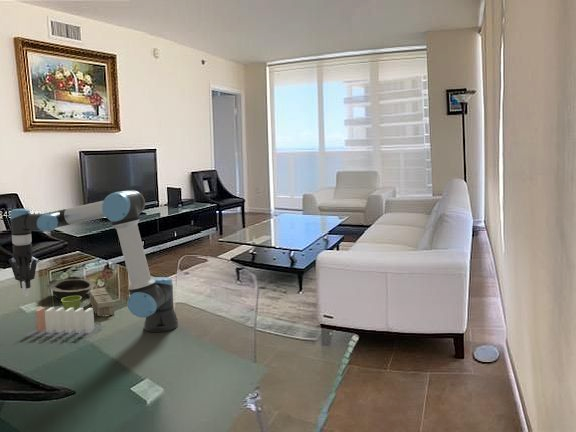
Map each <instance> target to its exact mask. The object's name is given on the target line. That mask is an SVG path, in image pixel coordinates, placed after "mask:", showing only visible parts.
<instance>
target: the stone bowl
mask: <svg viewBox="0 0 576 432" xmlns="http://www.w3.org/2000/svg"><path fill="white" fill-rule="evenodd" d="M96 285H97V284H96V282H95V281H93V280H91V279H86V278H81V277H79V276H69V277H67V278H64V279H53V280H49V282H48V284H47V285H46V287H47V288H48V289H50V290H52V295H54V296H55V297H56V299H57V300H60V299H62V298H65V297H68V296H81V297H82V296H83V297H85V296H86V295H87V294H88V292H89V291H90V289H93V288H94V287H95V286H96ZM83 297H82V298H83Z"/></svg>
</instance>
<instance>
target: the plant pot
mask: <svg viewBox="0 0 576 432" xmlns="http://www.w3.org/2000/svg"><path fill="white" fill-rule="evenodd" d="M82 298H83V297H81V296H68V297H65V298H62V299H61V300H60V301H61V302H62V303H61V304H62V305H63V308H64V310H67V309H69V308H74V311H75V310H77V309H79V308H81V301H82Z"/></svg>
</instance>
